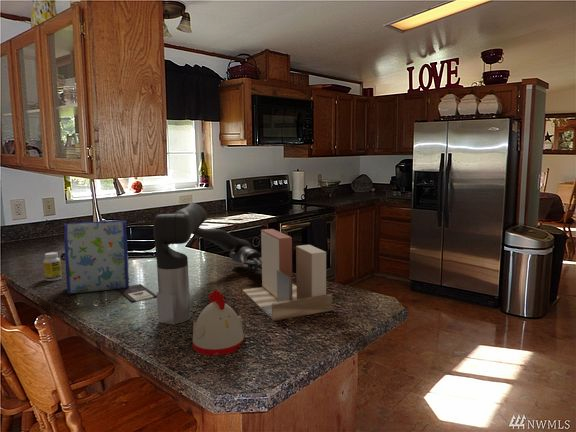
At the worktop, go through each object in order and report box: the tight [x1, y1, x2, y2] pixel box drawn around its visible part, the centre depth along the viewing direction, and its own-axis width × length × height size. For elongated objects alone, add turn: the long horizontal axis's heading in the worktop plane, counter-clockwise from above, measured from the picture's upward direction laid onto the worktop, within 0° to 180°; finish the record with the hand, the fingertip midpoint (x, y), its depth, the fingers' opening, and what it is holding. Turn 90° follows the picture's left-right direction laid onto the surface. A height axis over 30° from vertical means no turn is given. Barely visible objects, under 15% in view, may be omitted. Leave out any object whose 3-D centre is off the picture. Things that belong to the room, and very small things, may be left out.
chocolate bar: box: [116, 283, 157, 303], centre depth 159 cm, size 9×1×18 cm
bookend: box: [261, 270, 291, 319], centre depth 136 cm, size 10×6×12 cm, turn 23°
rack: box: [242, 282, 333, 321], centre depth 148 cm, size 32×20×6 cm, turn 23°
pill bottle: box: [43, 251, 63, 282], centre depth 178 cm, size 6×6×11 cm
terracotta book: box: [260, 228, 293, 300], centre depth 153 cm, size 18×5×22 cm, turn 23°
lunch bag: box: [63, 219, 130, 294], centre depth 166 cm, size 22×17×26 cm
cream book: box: [295, 244, 327, 299], centre depth 141 cm, size 12×5×19 cm, turn 23°
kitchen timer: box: [192, 289, 245, 356], centre depth 116 cm, size 14×14×15 cm
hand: (266, 268), depth 163 cm, fingers closed
